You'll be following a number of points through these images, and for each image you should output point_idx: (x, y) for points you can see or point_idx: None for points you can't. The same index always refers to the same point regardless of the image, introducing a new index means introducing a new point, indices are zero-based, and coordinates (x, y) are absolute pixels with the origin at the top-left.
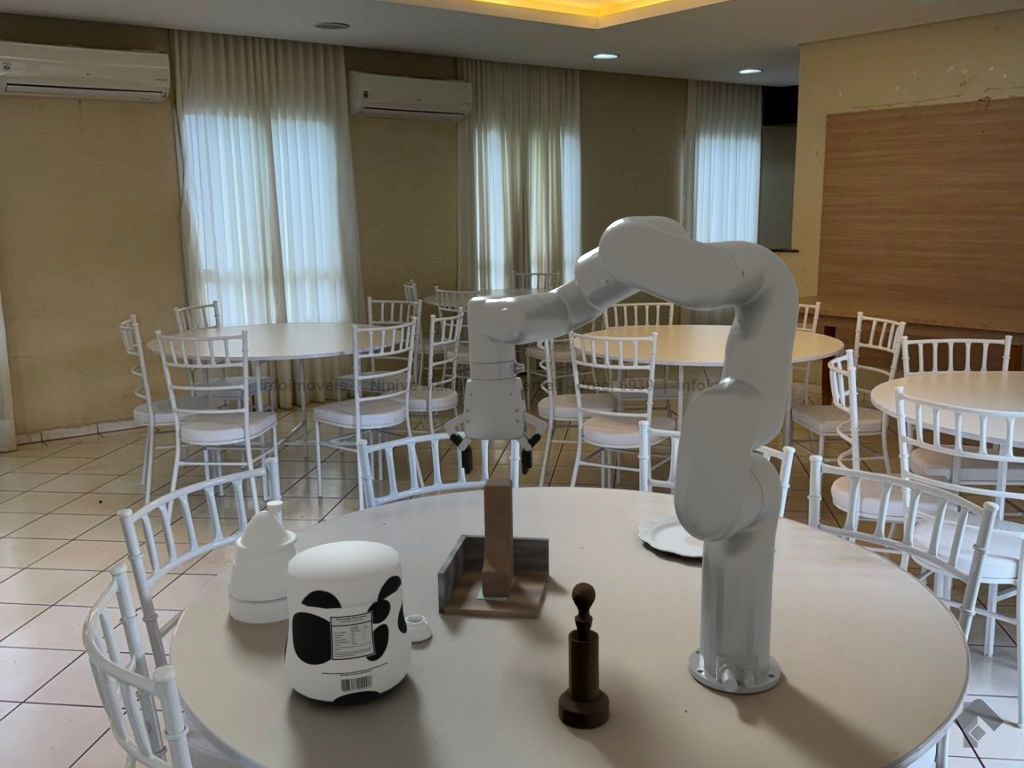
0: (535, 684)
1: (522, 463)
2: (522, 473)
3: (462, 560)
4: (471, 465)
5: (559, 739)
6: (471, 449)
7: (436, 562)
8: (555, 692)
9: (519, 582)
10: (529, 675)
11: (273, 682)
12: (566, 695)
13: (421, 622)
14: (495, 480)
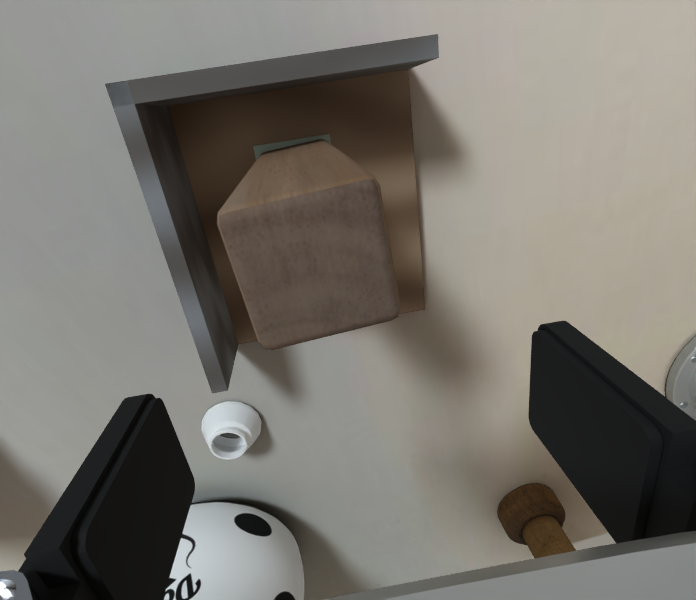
0: (460, 473)
1: (573, 476)
2: (532, 422)
3: (173, 164)
4: (161, 456)
5: (502, 543)
6: (96, 548)
7: (29, 40)
8: (488, 479)
9: None
10: (448, 459)
11: None
12: (519, 537)
13: (246, 448)
14: (288, 246)
